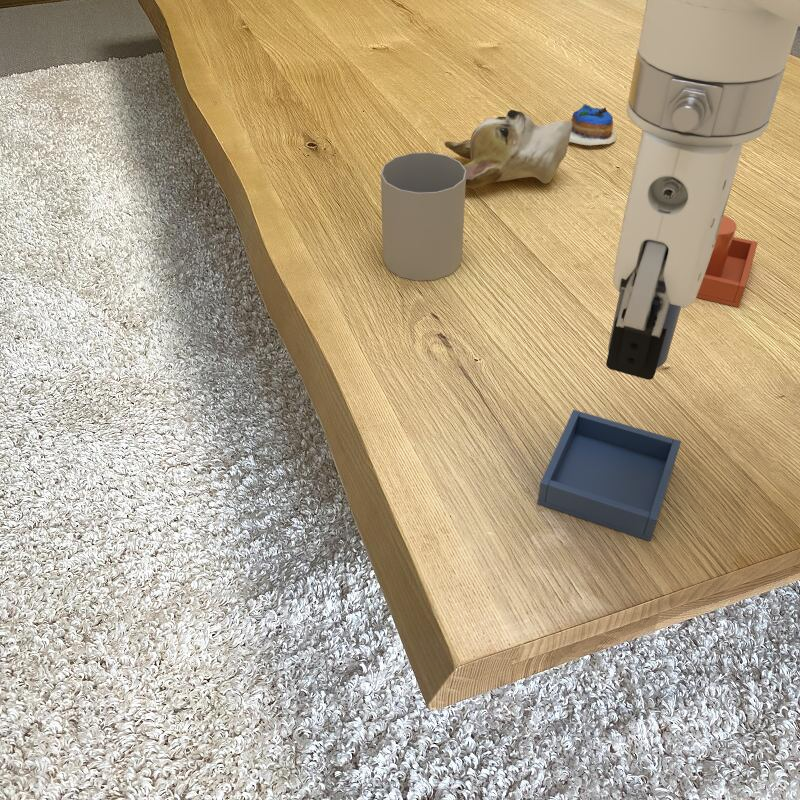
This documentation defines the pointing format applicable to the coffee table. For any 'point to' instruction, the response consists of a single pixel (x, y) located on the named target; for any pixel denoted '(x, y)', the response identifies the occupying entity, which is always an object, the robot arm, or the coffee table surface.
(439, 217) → the cup
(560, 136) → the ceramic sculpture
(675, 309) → the blue peg
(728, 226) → the terracotta peg
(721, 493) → the coffee table surface
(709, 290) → the terracotta tray
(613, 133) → the dessert
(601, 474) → the blue tray
